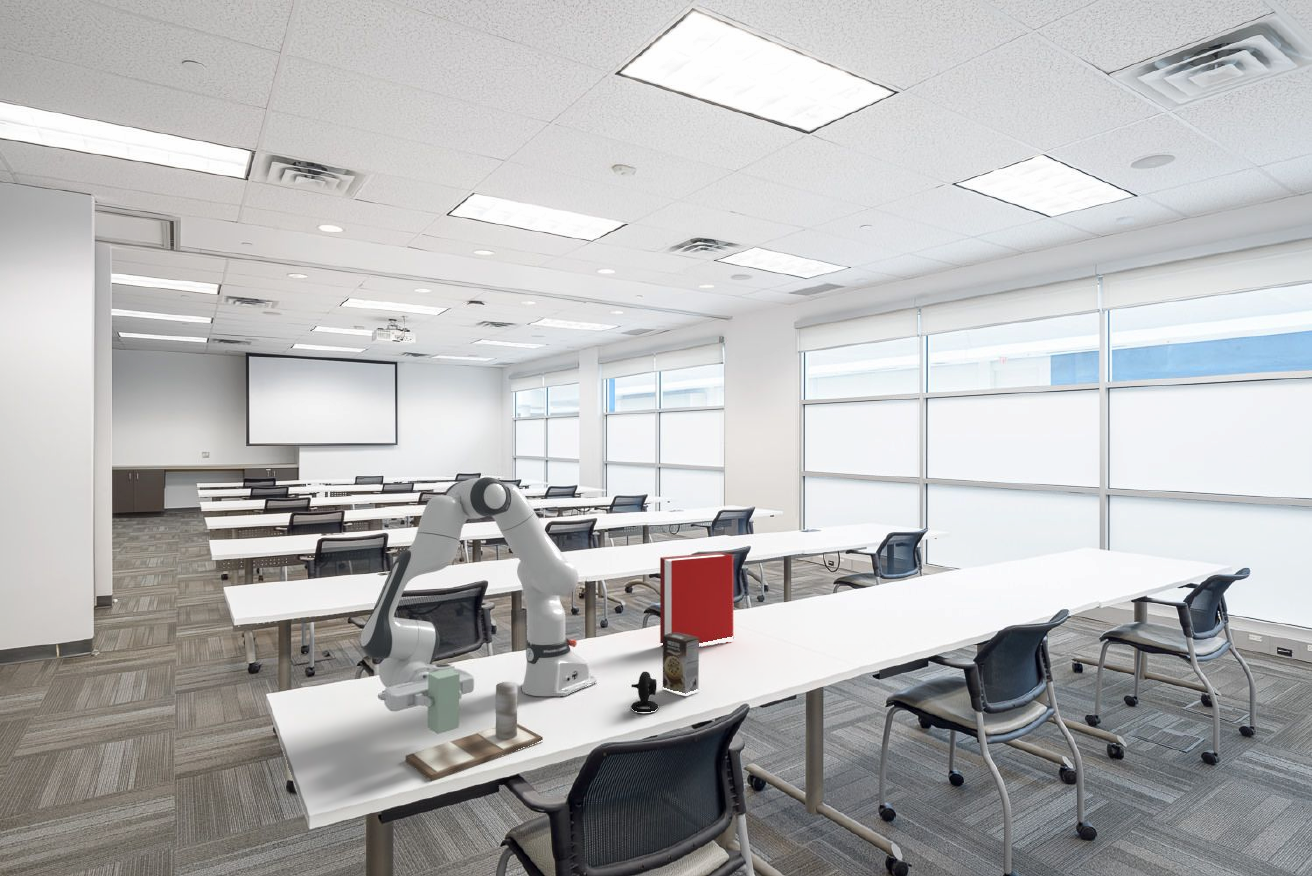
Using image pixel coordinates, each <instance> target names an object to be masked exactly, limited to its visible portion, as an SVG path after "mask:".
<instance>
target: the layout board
mask: <svg viewBox="0 0 1312 876" xmlns="http://www.w3.org/2000/svg"><path fill="white" fill-rule="evenodd" d="M543 738H544V737H543V736H541V735H539V733H536V732H534V731H532V730H530V729H528V728H527V727H524V726H522V725H521V724H519V723H518V683H517V682H515V681H502V682H498V683H497V684H496V685H495V727H492V728H490V729H486V730H483V731H479V732H477V733H474V734H470V735H467V736H463V737H461V738H460V737H459V738H458V739H455V740H451V741H447V742H444V743H442V744H438V745H435V746H432V747H429V748H425V749H421V750H419V751H415V752H413V753H409V754H406V755H405V762H406V763H408V765H409V766H411V767H412V768H414V769H415V768H416V769H417V770H416V769H415V770H416V771H418V772H419V773H420V774H422V775H423V776H424V775H425V776H426V778H427V779H428V778H429V779H430V780H429V779H428V780H429V781H431V782H432V780H433V781H435V780H434V779H436V780H438V778H439V779H441V777H442V778H444V777H443V776H445V777H447V776H446V775H448V776H449V775H450V776H451V775H453V774H456V773H459V772H461V771H464V770H468V769H470V768H473V767H475V766H479V765H481V764H484V763H488V762H490V761H494V760H496V759H499V758H502V757H503V756H502V755H505V754H508V755H509V753H510V754H512V753H511V752H513V753H515V752H514V751H516V750H518V749H521V748H523V747H528V746H530V745H532V744H535V743H537V742H539V741H541V740H543ZM530 747H531V746H530ZM528 748H529V747H528ZM516 752H517V751H516ZM501 756H502V757H501ZM505 756H506V755H505ZM498 757H499V758H498ZM425 776H424V777H425Z"/></svg>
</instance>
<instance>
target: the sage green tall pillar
mask: <svg viewBox="0 0 1312 876" xmlns="http://www.w3.org/2000/svg"><path fill="white" fill-rule="evenodd" d="M459 677H460V674H458V673H456V672H454V671H452V670H450V669H447V670H442V671H438V672H433V673H429V674H428V697H429V696H432V697H434V699H435V702H434V703H435V705H434V706H431V707H427V726H426V727H427V728H428V729H429V730H431V731H432V732H433V733H435V734H437V735H439V734H442V733H446V732H450V731H453V730H457V729H459V726H460V724H459V723H460V720H459V719H460V699H459Z"/></svg>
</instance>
